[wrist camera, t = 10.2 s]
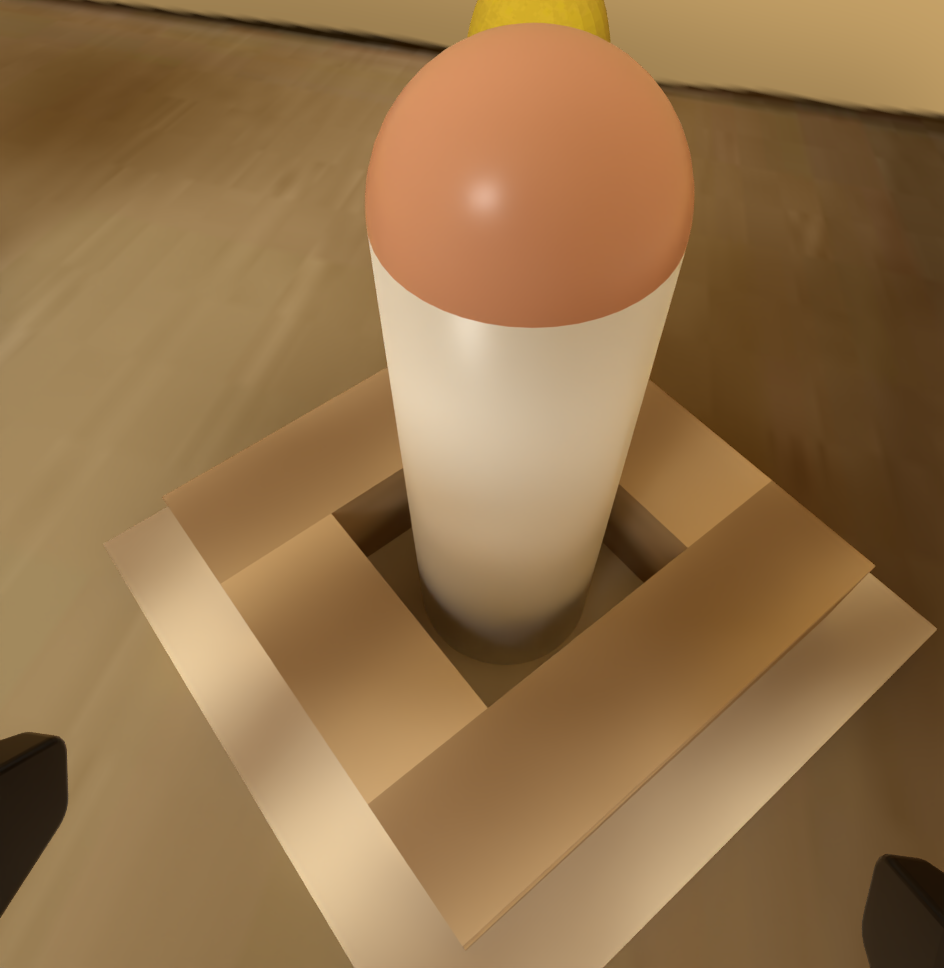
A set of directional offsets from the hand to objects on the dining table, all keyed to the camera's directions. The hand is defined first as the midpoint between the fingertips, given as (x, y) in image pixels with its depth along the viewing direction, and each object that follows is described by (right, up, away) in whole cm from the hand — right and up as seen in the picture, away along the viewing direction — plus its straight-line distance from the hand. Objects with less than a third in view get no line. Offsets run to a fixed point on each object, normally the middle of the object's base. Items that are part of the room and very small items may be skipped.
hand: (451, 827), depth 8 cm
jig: (+1, 0, +13) cm, 13 cm away
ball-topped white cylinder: (+1, +1, +12) cm, 12 cm away
